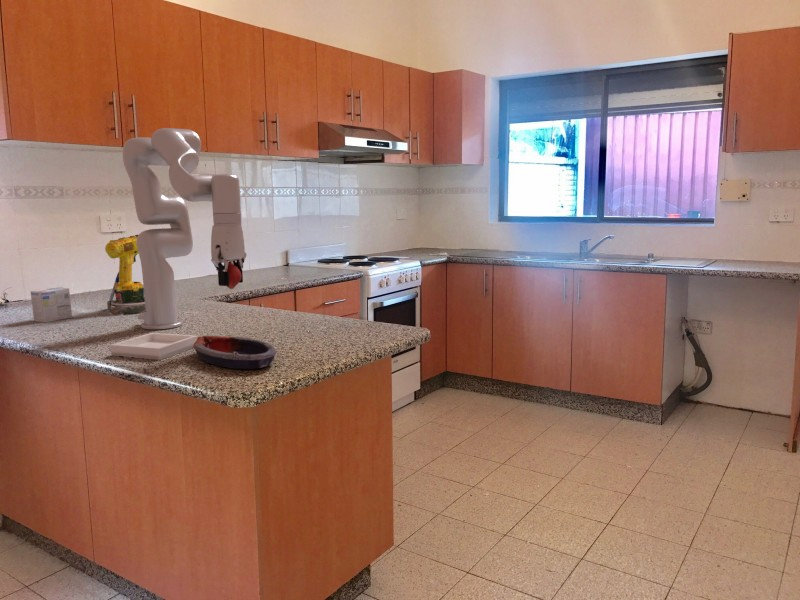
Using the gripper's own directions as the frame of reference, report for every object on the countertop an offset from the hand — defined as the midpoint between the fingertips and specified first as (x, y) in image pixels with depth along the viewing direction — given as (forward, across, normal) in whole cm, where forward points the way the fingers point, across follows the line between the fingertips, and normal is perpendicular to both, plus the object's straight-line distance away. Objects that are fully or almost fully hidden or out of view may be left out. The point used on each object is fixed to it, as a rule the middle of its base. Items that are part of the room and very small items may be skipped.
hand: (230, 283), depth 184 cm
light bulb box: (+18, -15, -85) cm, 88 cm away
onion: (+2, 0, 0) cm, 2 cm away
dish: (+18, +17, +11) cm, 27 cm away
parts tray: (+17, +14, -16) cm, 27 cm away
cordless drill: (+18, -39, -70) cm, 82 cm away
